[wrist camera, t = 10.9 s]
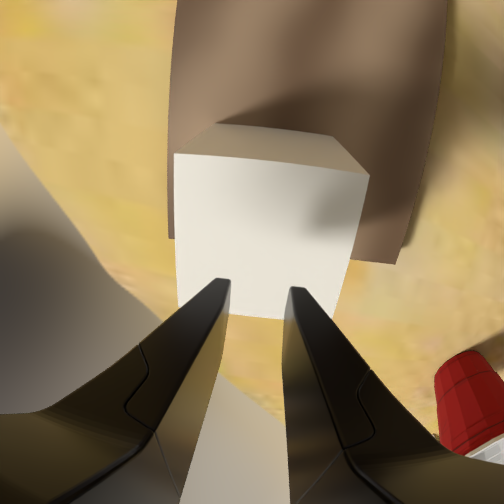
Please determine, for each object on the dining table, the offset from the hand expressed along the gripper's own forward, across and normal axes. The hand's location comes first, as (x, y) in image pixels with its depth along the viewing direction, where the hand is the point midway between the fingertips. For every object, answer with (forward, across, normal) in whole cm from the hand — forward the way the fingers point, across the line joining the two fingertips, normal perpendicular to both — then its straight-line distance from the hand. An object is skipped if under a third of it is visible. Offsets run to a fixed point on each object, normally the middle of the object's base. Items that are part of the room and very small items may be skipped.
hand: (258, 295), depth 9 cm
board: (+11, -2, -6) cm, 12 cm away
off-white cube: (+10, 0, 0) cm, 10 cm away
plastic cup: (+11, -22, +16) cm, 29 cm away
